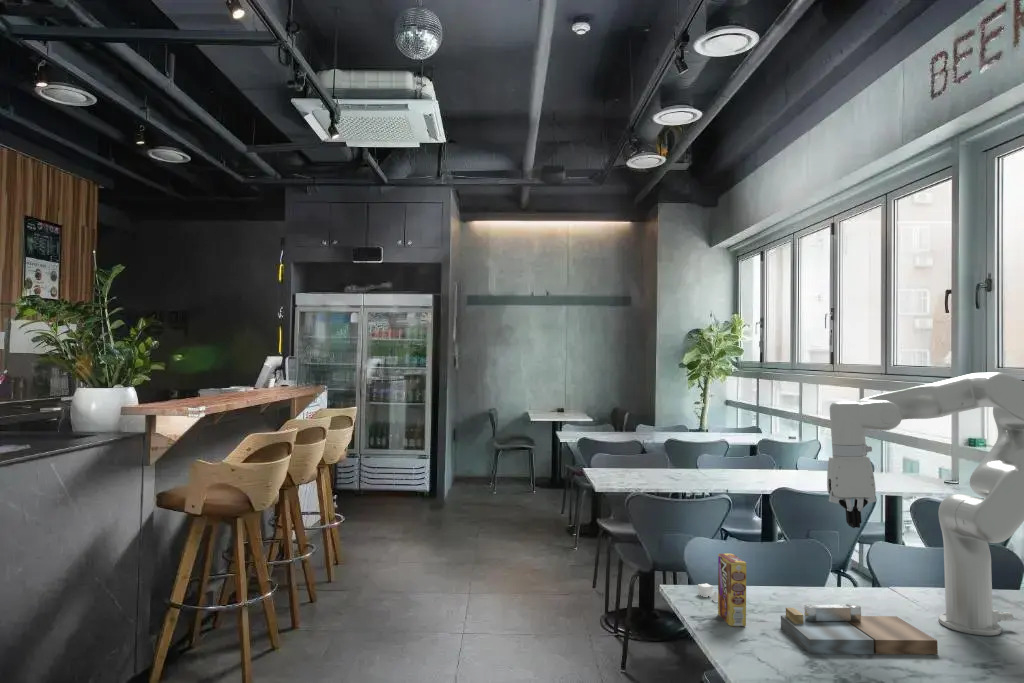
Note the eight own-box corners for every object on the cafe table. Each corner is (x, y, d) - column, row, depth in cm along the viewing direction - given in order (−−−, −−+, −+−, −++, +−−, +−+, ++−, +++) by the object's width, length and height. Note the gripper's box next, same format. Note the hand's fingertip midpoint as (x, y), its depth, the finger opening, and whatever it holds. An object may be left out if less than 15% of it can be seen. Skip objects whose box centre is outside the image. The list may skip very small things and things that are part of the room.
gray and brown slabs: (896, 629, 159) (896, 607, 159) (937, 654, 144) (937, 631, 144) (780, 628, 158) (780, 606, 159) (809, 653, 143) (809, 629, 144)
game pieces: (697, 596, 183) (697, 584, 183) (707, 594, 184) (707, 583, 185) (725, 609, 172) (725, 596, 172) (736, 608, 173) (735, 595, 173)
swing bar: (855, 616, 157) (855, 603, 158) (864, 621, 154) (863, 608, 154) (801, 617, 156) (801, 604, 157) (808, 622, 153) (808, 608, 153)
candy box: (747, 627, 159) (747, 562, 160) (730, 627, 159) (729, 562, 160) (734, 614, 168) (733, 553, 169) (717, 614, 168) (717, 553, 169)
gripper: (874, 449, 167) (879, 523, 165) (812, 450, 168) (817, 523, 167) (887, 452, 159) (893, 529, 158) (822, 453, 161) (827, 530, 160)
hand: (854, 526), depth 163 cm, fingers closed
